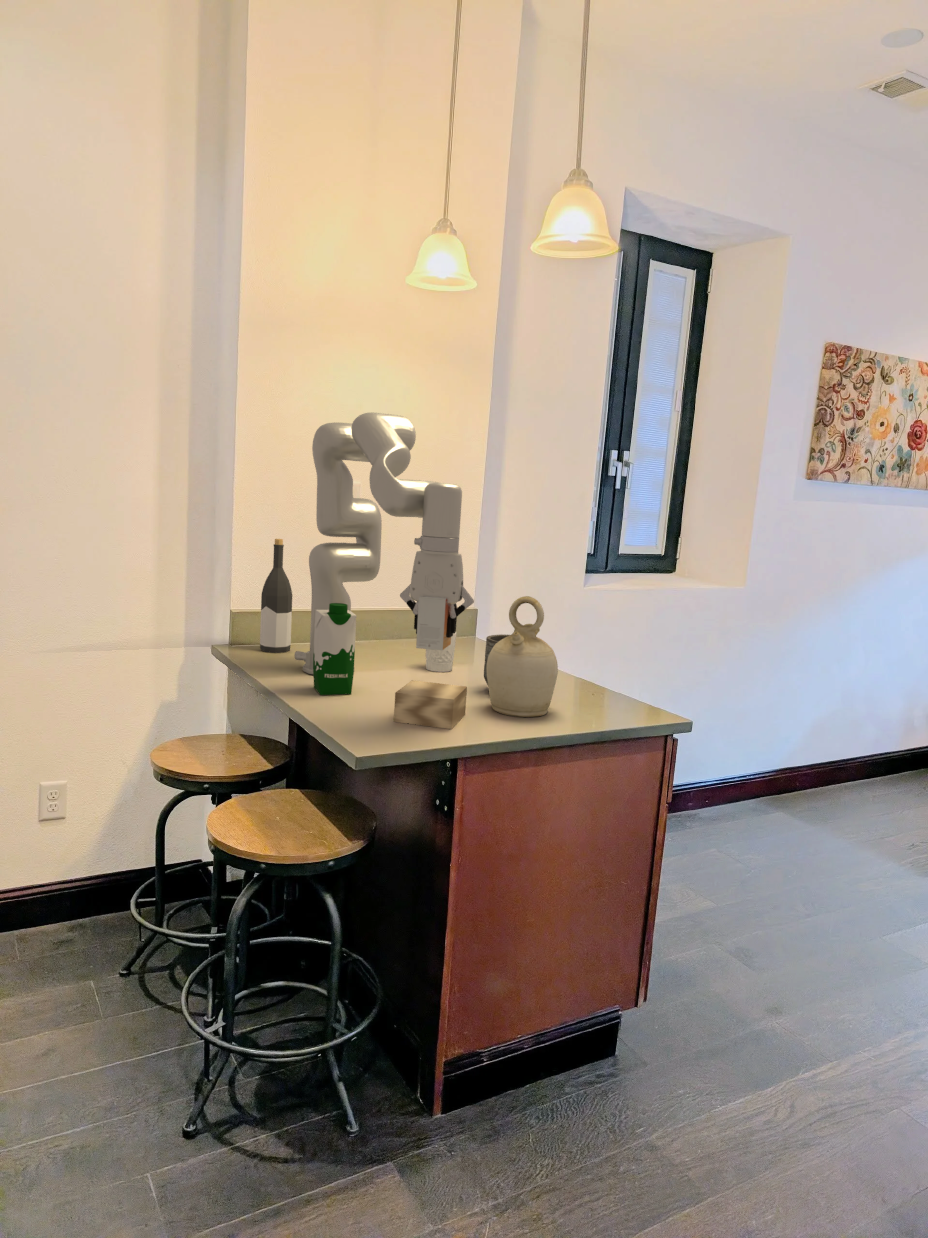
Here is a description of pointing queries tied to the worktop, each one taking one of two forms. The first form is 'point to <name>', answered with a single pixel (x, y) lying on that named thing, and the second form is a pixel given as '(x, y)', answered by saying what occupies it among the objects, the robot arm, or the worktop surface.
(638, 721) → the worktop surface
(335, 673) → the milk carton
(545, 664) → the jug
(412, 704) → the beech block
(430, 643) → the small box
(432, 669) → the white cup
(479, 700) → the worktop surface
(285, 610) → the wine bottle
